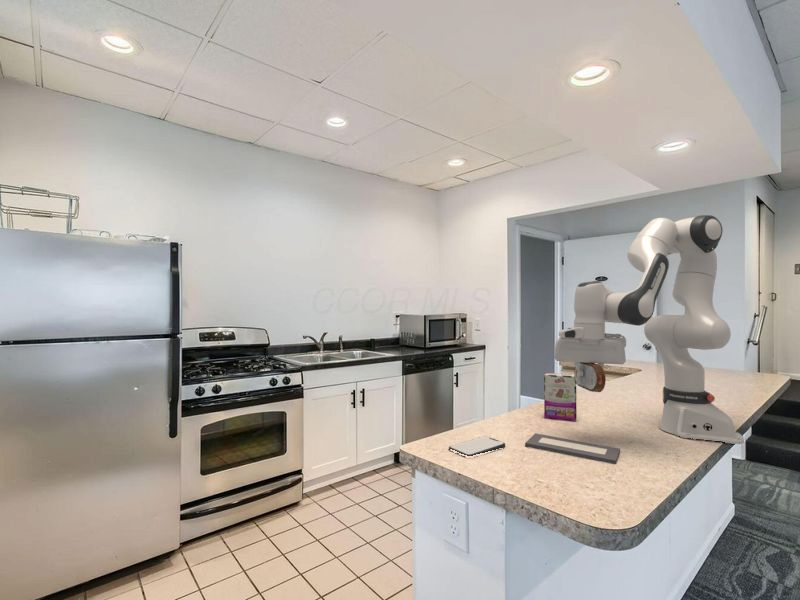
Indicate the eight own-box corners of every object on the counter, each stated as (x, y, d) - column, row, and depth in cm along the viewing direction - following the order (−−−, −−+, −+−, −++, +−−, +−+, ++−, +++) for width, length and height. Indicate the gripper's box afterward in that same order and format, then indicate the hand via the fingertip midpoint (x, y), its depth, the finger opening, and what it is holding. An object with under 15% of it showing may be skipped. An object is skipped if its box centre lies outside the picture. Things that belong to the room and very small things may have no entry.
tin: (605, 395, 120) (608, 366, 120) (594, 393, 120) (597, 365, 120) (580, 385, 135) (583, 359, 135) (571, 384, 135) (573, 358, 135)
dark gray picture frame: (620, 452, 117) (620, 448, 117) (616, 464, 108) (616, 460, 108) (535, 436, 130) (535, 433, 130) (525, 446, 121) (525, 442, 121)
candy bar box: (576, 418, 152) (576, 374, 152) (576, 422, 147) (576, 376, 147) (544, 415, 156) (544, 372, 156) (543, 418, 151) (544, 374, 151)
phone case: (469, 461, 111) (507, 448, 120) (468, 455, 111) (507, 443, 120) (446, 452, 118) (484, 440, 127) (446, 446, 118) (484, 435, 127)
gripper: (623, 333, 128) (623, 377, 127) (554, 331, 133) (553, 373, 133) (628, 334, 122) (628, 381, 121) (555, 332, 127) (554, 376, 127)
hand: (588, 377), depth 127 cm, fingers closed on tin, 3 cm apart
